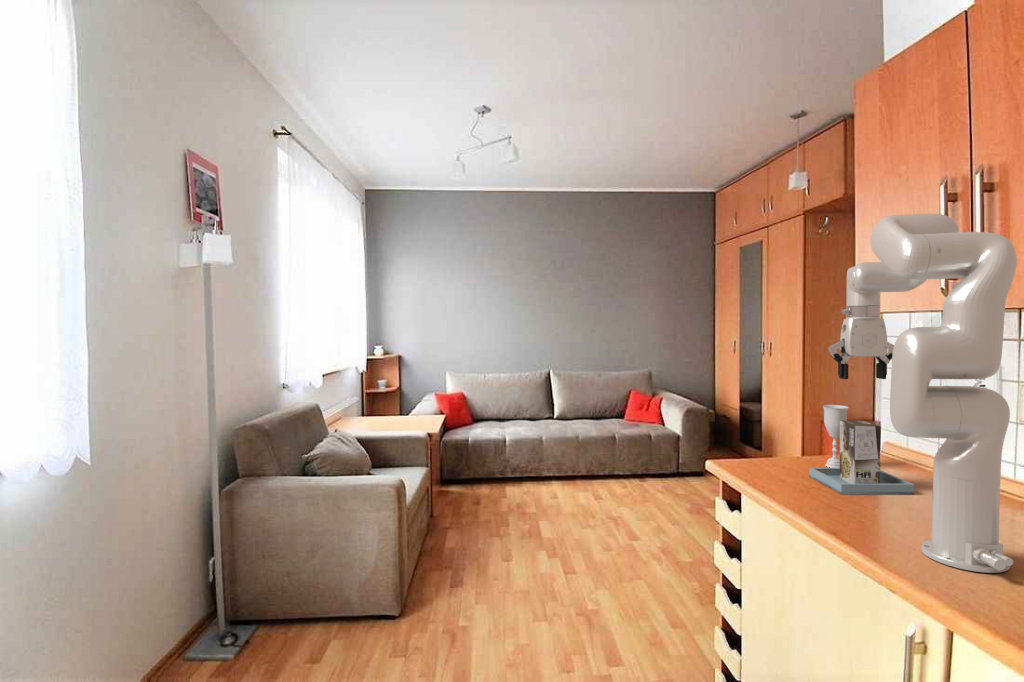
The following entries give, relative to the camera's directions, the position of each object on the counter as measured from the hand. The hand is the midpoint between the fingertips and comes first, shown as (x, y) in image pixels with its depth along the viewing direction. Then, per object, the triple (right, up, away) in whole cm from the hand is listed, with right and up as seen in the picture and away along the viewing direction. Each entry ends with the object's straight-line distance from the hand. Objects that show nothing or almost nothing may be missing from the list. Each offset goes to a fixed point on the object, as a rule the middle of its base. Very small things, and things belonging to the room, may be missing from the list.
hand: (862, 378), depth 146 cm
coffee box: (0, -28, +1) cm, 28 cm away
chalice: (+5, -28, +21) cm, 35 cm away
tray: (0, -28, +2) cm, 28 cm away
